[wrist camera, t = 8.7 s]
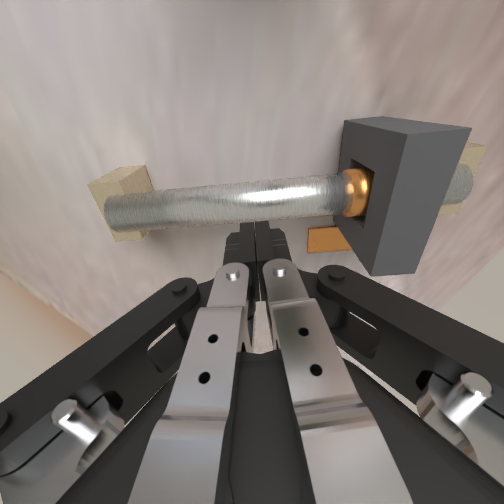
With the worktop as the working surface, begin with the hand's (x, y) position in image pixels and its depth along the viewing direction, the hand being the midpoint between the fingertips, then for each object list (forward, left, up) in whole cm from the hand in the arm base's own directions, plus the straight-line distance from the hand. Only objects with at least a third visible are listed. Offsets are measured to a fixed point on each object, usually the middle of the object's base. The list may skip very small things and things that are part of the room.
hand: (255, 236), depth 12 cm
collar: (0, +9, -11) cm, 14 cm away
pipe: (+3, +2, -11) cm, 12 cm away
